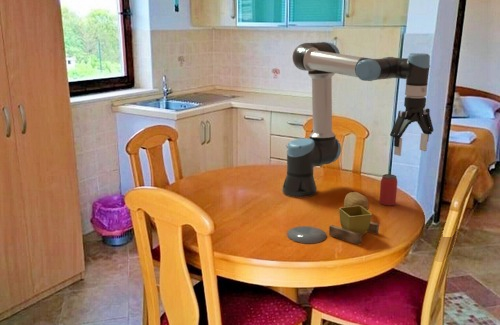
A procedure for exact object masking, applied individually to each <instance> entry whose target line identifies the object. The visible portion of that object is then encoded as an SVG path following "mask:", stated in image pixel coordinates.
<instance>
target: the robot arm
mask: <svg viewBox="0 0 500 325" xmlns="http://www.w3.org/2000/svg"><path fill="white" fill-rule="evenodd" d="M292 62H293V64H294V66H295V68H297V69H298V70H300V71H304V72H305V71H308V76H309V77H310V78H311V96H312V98H311V100H312V102H311V103H312V104H311V105H312V107H311V108H312V110H311V111H312V132H310V134H309V138H307V137H302V138H296V139H293V140H291V141H289V143H288V144H287V149H286V176H285V178H284V183H283V185H282V193H283V194H284V195H286V196H289V197H293V198H308V197H312V196H315V195H316V194H317V190H318V189H317V185H316V181H315V178H314V168H315V167H320V166H324V165H330V164H332V163H334V162H335V161H337V160H338V159H339V157H340V156H341V152H342V146H341V143H340V141H339V139H338V138H336V137H337V136H336V134H335V132H334V131H333V102H332V101H333V100H332V98H333V96H332V94H333V93H332V88H333V87H332V86H333V85H332V83H333V82H332V81H333V80H332V79H333V76H335V74H339V75H342V76H343V75H344V76H349V77H355V78H358V79H359V80H361V81H364V82H372V81H378V80H389V79H390V80H391V79H400V80H401V79H402V80H405V89H404V90H405V92H404V95H405V97H404V104H403V105H404V107H405V110H399V111H398V112H397V118H396V120H395V123H394V124H393V126H392V129H391V132H390V137H392V138H393V141H394V142H393V146H394V149H393V155H395V156H398V157H400V156H402V148H403V147H402V145H403V137H402V136H403V134H405V132H406V130H407V128H408V127H409V125H411V124H412V123H415V122H417V124H418V126H419V129H421V131H422V133H420V142H419V151H422V152H427V149H428V142H429V137H430V135H432V132H434V127H433V123H432V122H433V121H432V119H431V114H430V111H431V110H430V108H427V107H426V105H427V98H426V96H427V94H428V93H427V92H428V85H429V84H428V81H429V75H430V74H429V73H430V67H431V65H430V64H431V63H430V62H431V55H429V53H425V52H424V53H421V52H420V53H419V52H417V53H416V52H415V53H413V52H412V53H409V54H408V56H407V58H404V57H394V56H386V57H382V58H370V57H364V56H355V55H349V54H344V53H343V54H342V53H340V50H339V48H338V47H337V46H336V45H335V43H332V42H329V41H328V42H326V41H322V42H320V41H319V42H304V43H301V44H299V45H298V46H296V48H295V49H294V51H293V53H292ZM401 137H402V138H401Z"/></svg>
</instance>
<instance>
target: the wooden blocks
mask: <svg viewBox="0 0 500 325" xmlns="http://www.w3.org/2000/svg"><path fill="white" fill-rule="evenodd" d="M379 227H380V223H376V222H373V221H370V225H369V228H368V230H367V232H366V233H369V234H374V235H378V234H379V231H380V230H379ZM328 232H329V234H328V236H330V237H332V238H336V239H339V240H342V241H344V242H348V243H352V244H353V245H358V246H360V245H361V244H362V239H363V238H362V237H363V236H362V234H359V233H356V232H353V231H350V230H346V229H343V228H342V227H340V226H336V225H334V224H331V225H329V230H328Z"/></svg>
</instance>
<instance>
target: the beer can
mask: <svg viewBox="0 0 500 325" xmlns="http://www.w3.org/2000/svg"><path fill="white" fill-rule="evenodd" d="M397 189H398V178H397V175H395V174H392V173H386V174H383V175H382V178H381V179H380V189H379V190H380V191H379V203H380V204H381V205H384V206H386V207H387V206H388V207H389V206H395V205H396V203H397V192H398V190H397Z"/></svg>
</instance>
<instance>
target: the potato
mask: <svg viewBox="0 0 500 325" xmlns="http://www.w3.org/2000/svg"><path fill="white" fill-rule="evenodd" d="M351 206H362V207H363V208H364V209H366V210H367V211H369V208H370V203H369V201H368V197H366V196H365V195H363V194H361V193H359V192H358V191H353V192H352V191H351V192H350V191H349V193H347V194H346V195H345V198H344V201H343V207H351Z"/></svg>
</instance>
